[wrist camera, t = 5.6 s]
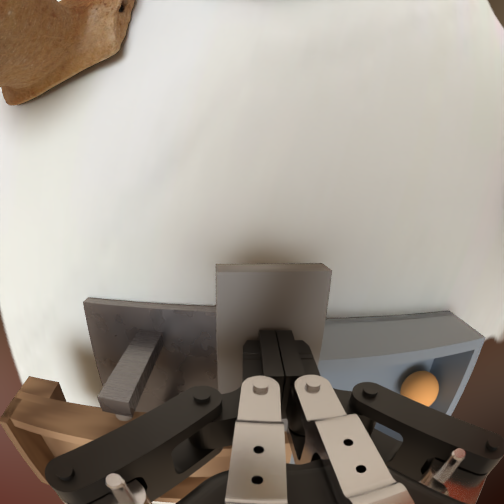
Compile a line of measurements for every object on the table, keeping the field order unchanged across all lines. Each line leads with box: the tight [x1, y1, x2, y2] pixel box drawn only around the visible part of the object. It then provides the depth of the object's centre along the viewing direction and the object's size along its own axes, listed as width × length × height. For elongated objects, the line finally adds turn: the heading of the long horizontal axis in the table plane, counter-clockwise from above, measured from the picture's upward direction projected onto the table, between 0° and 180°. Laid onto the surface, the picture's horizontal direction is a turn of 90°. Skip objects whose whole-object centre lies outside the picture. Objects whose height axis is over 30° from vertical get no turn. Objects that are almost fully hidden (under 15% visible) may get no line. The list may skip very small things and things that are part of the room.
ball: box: [400, 371, 439, 407], centre depth 22 cm, size 4×4×4 cm
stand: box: [83, 298, 218, 417], centre depth 19 cm, size 12×16×10 cm
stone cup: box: [0, 0, 135, 105], centre depth 10 cm, size 15×12×15 cm
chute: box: [0, 263, 332, 503], centre depth 14 cm, size 20×18×6 cm
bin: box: [289, 311, 485, 464], centre depth 22 cm, size 16×14×6 cm
